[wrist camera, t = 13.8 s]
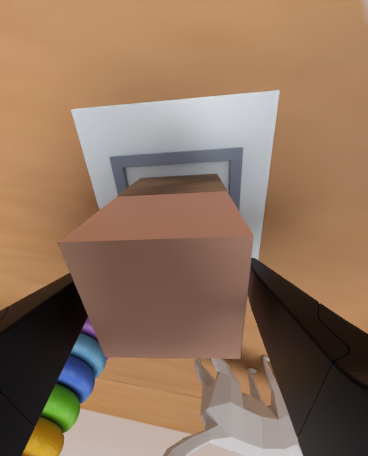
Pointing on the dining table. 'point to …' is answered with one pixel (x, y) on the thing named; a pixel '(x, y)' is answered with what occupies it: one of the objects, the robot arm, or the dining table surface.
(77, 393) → the stacking toy
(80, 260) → the terracotta block
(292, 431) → the cat figurine
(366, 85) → the dining table surface
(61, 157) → the dining table surface
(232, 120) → the board
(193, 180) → the walnut block
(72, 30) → the dining table surface
